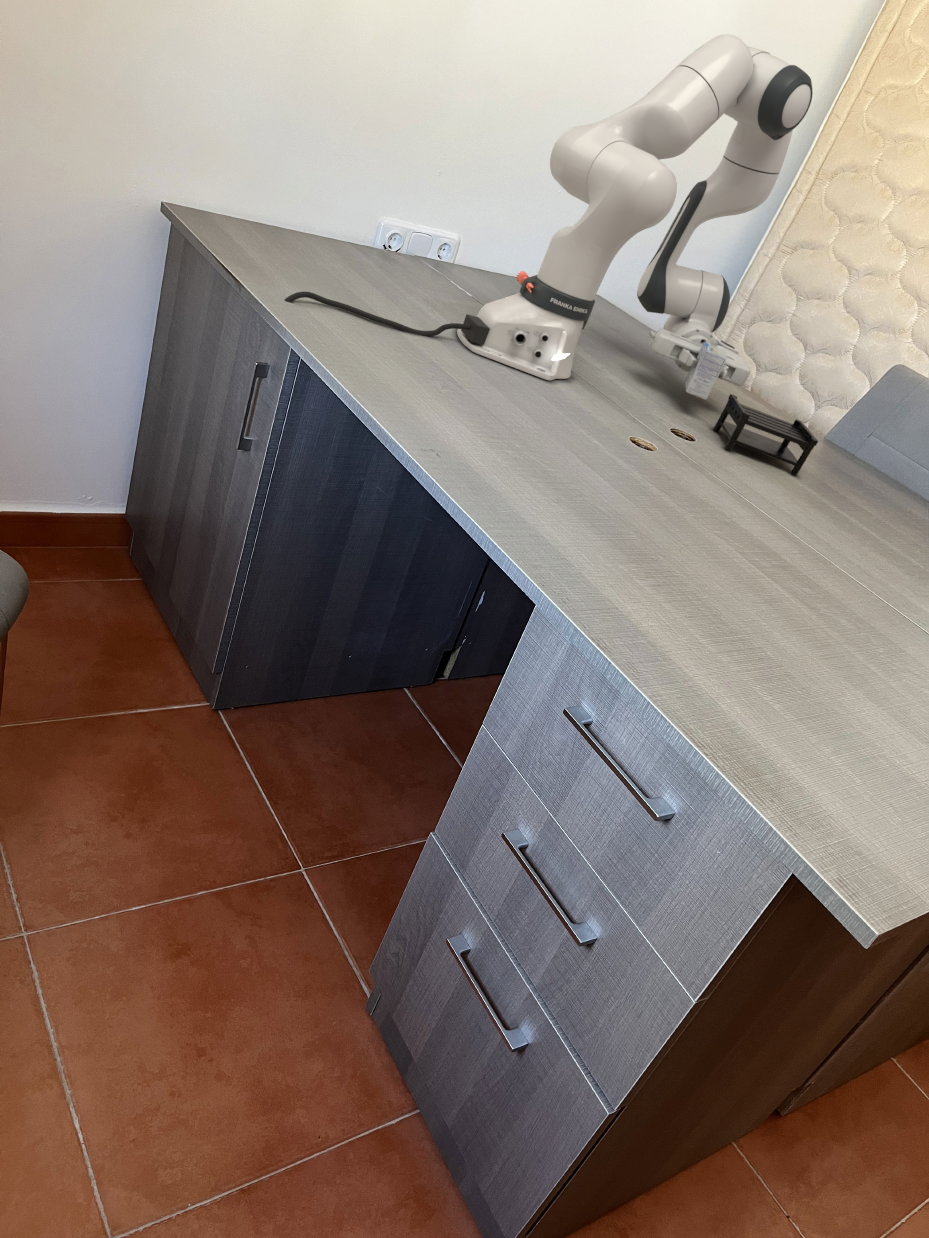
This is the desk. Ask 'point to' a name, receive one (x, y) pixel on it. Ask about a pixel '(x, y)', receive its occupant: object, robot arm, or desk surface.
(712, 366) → the medicine box
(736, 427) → the rack
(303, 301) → the desk surface
